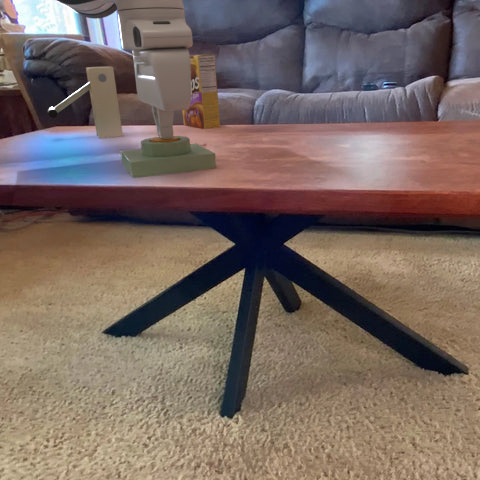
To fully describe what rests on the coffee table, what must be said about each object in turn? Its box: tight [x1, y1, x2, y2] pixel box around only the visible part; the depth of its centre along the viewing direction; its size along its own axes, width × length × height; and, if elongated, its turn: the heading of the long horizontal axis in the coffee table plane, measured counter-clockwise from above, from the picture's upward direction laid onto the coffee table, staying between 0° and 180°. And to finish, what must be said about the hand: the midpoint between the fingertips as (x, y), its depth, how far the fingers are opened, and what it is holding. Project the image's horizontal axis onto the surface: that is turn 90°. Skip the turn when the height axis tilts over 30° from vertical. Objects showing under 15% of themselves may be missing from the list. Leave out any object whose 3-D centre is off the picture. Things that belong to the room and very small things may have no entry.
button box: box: [120, 135, 217, 179], centre depth 76 cm, size 12×10×4 cm
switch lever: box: [47, 82, 91, 119], centre depth 94 cm, size 13×5×2 cm, turn 113°
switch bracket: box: [85, 65, 124, 140], centre depth 97 cm, size 10×8×14 cm
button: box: [151, 135, 179, 142], centre depth 75 cm, size 4×4×2 cm
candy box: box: [181, 54, 221, 130], centre depth 105 cm, size 9×4×15 cm, turn 37°
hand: (165, 138), depth 75 cm, fingers closed, pressing on button
